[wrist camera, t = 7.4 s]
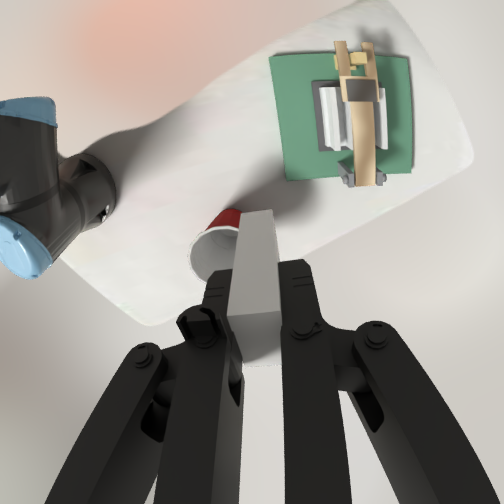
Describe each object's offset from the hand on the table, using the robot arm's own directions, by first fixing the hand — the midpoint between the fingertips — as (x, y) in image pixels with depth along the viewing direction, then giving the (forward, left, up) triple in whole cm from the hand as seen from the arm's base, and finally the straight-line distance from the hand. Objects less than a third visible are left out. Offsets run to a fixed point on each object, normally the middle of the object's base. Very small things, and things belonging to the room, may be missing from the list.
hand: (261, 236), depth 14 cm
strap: (+14, +3, -25) cm, 28 cm away
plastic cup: (-8, -15, -32) cm, 36 cm away
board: (+13, +2, -32) cm, 34 cm away
